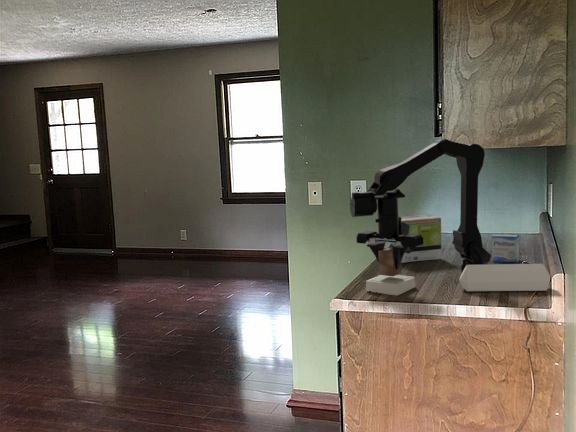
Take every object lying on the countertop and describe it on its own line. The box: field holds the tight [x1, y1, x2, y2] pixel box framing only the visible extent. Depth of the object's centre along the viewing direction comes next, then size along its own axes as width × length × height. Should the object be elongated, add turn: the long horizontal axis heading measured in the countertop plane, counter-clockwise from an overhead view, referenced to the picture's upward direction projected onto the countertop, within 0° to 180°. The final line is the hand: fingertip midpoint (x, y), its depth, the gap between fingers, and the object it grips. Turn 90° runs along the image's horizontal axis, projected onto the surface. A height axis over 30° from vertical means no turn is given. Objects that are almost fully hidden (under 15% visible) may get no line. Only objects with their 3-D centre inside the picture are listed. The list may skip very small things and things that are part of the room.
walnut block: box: [378, 247, 402, 276], centre depth 169 cm, size 4×4×7 cm
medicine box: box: [491, 233, 520, 264], centre depth 196 cm, size 8×4×9 cm, turn 62°
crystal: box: [459, 263, 551, 292], centre depth 163 cm, size 7×7×24 cm
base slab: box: [365, 274, 416, 297], centre depth 170 cm, size 10×10×3 cm
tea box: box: [389, 214, 442, 264], centre depth 207 cm, size 15×10×15 cm
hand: (390, 268), depth 170 cm, fingers closed on walnut block, 4 cm apart
